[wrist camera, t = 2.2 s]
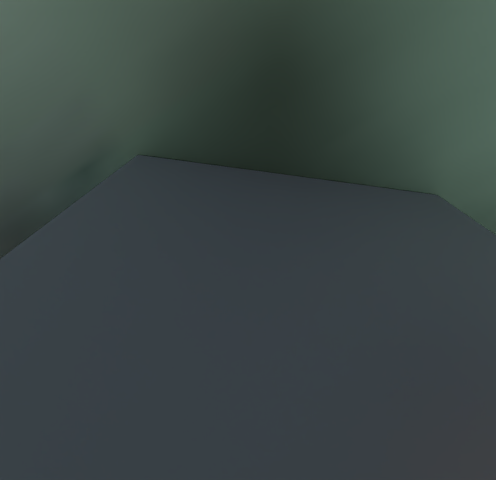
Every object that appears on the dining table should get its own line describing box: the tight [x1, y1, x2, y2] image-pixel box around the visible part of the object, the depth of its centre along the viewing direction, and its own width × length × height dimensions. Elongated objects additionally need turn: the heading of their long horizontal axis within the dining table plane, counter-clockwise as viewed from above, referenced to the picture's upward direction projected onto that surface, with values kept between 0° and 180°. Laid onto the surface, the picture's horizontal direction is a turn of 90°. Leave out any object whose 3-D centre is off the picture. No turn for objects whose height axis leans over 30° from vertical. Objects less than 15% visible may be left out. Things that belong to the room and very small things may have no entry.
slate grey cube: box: [0, 155, 496, 480], centre depth 7 cm, size 8×8×9 cm
